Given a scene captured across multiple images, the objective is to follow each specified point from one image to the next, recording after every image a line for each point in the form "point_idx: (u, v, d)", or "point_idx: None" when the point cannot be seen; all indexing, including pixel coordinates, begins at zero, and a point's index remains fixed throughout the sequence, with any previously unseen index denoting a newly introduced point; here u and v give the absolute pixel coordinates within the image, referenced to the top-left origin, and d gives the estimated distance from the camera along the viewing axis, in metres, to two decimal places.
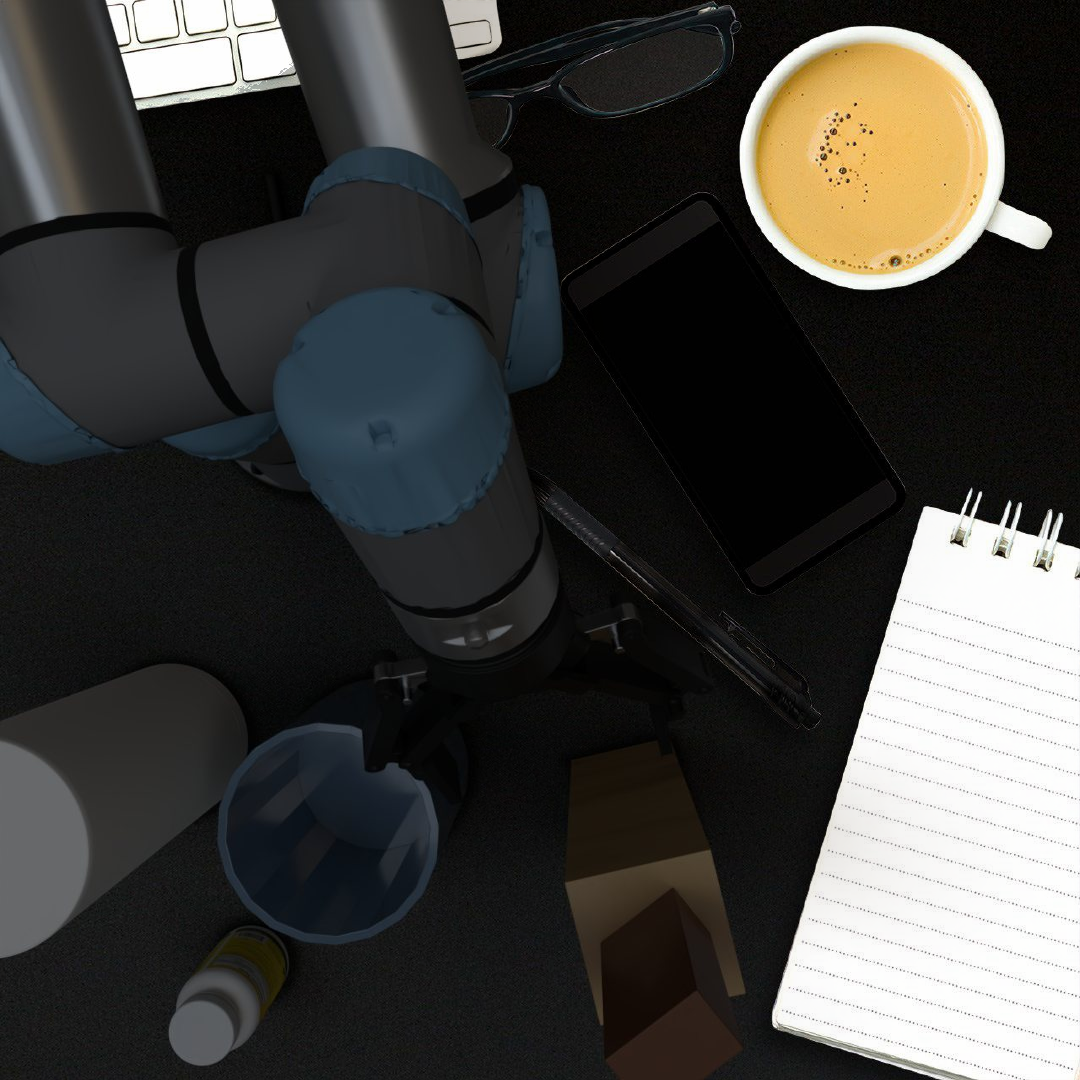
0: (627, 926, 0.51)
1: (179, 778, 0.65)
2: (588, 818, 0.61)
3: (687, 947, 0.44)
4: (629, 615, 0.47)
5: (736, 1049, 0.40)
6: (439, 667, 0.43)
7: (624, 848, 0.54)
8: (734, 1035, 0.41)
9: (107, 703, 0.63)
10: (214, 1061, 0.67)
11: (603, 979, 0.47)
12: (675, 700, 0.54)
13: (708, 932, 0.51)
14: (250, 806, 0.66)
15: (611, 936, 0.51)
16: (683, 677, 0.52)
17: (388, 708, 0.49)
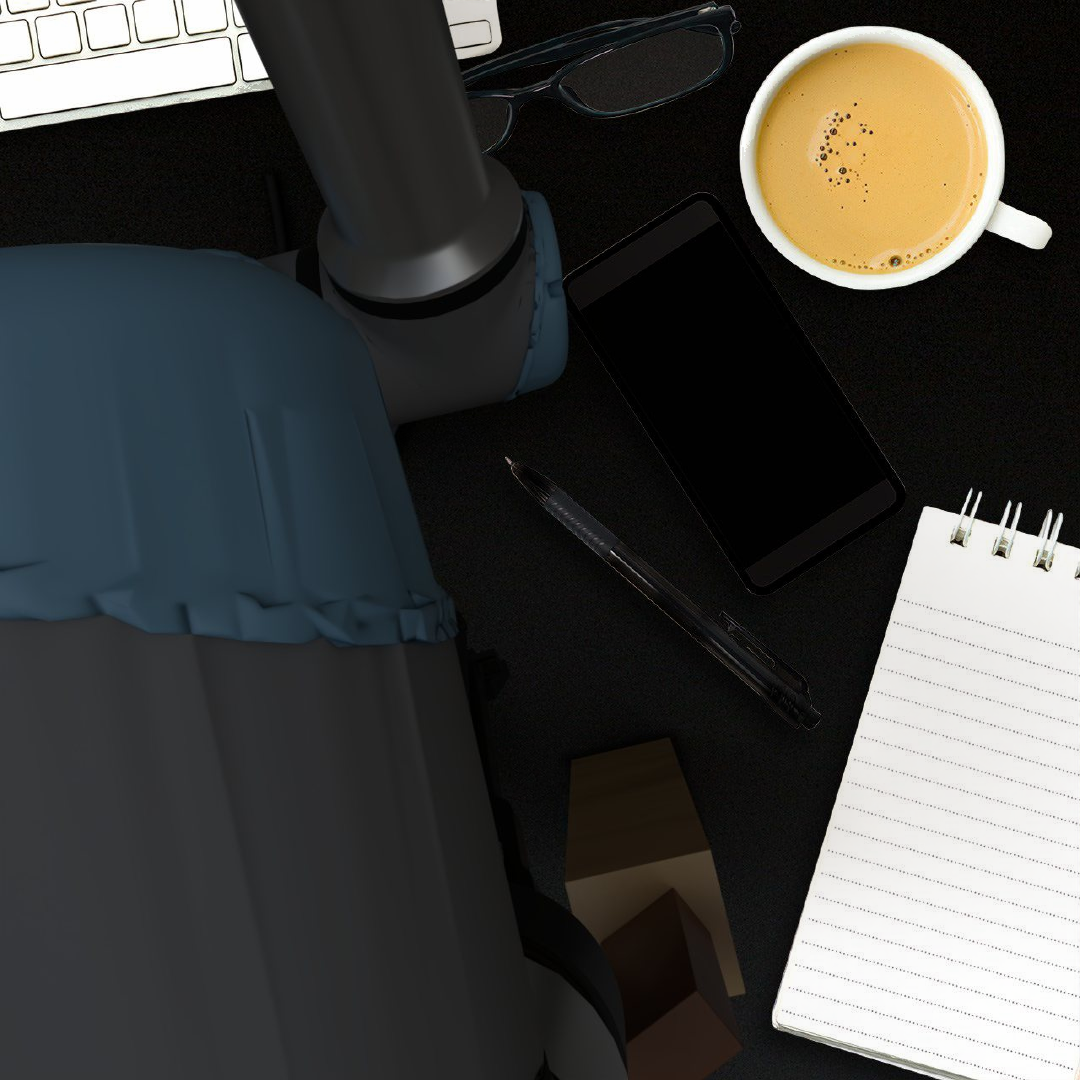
0: (627, 926, 0.51)
1: None
2: (588, 818, 0.61)
3: (687, 947, 0.44)
4: None
5: (736, 1049, 0.40)
6: None
7: (624, 848, 0.54)
8: (734, 1035, 0.41)
9: None
10: None
11: None
12: None
13: (708, 932, 0.51)
14: None
15: (611, 936, 0.51)
16: None
17: None
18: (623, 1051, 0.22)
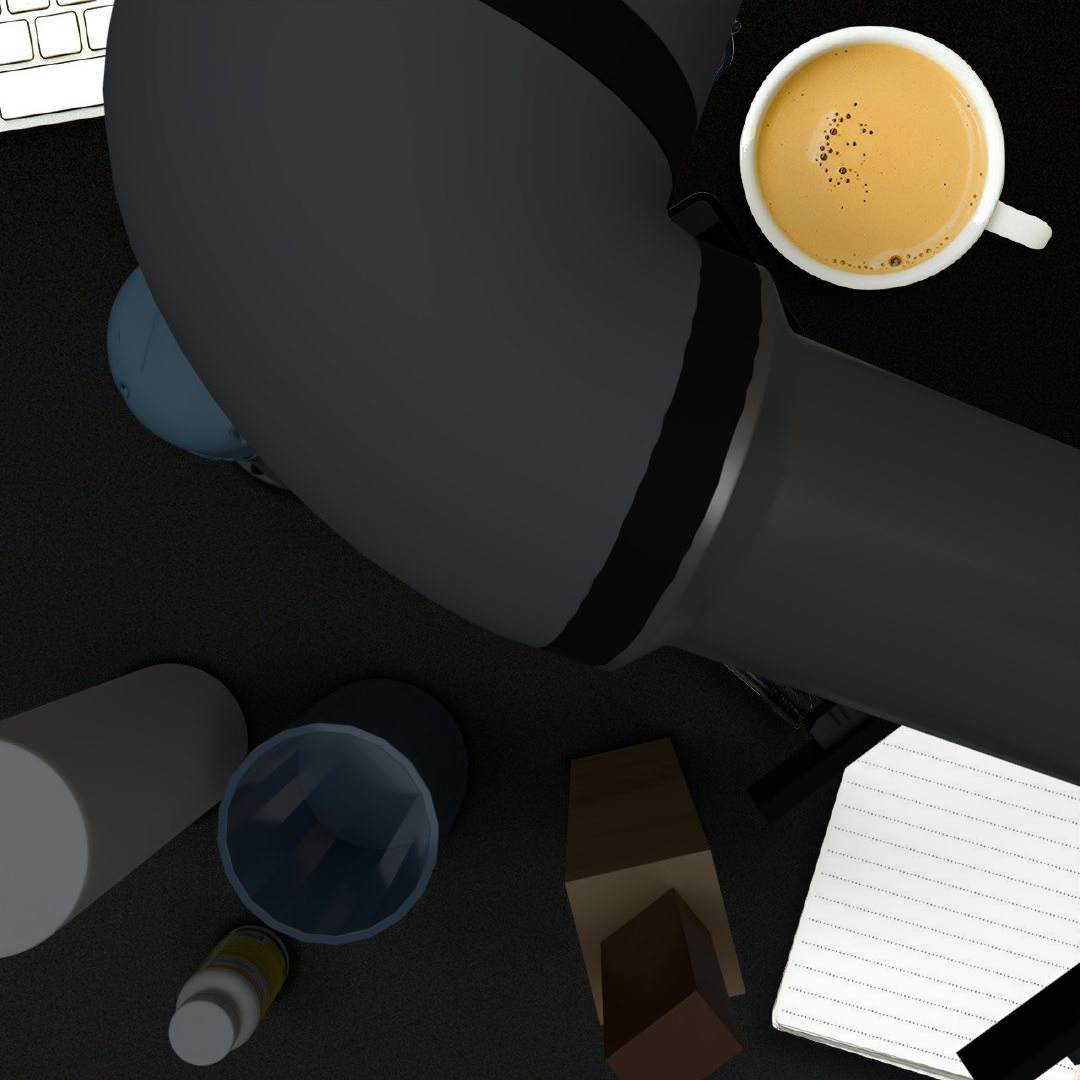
0: (627, 926, 0.51)
1: (178, 778, 0.65)
2: (588, 818, 0.61)
3: (687, 947, 0.44)
4: None
5: (736, 1049, 0.40)
6: None
7: (624, 848, 0.54)
8: (734, 1035, 0.41)
9: (107, 703, 0.63)
10: (214, 1061, 0.67)
11: (603, 979, 0.47)
12: None
13: (708, 932, 0.51)
14: (250, 806, 0.66)
15: (611, 936, 0.51)
16: None
17: None
18: None
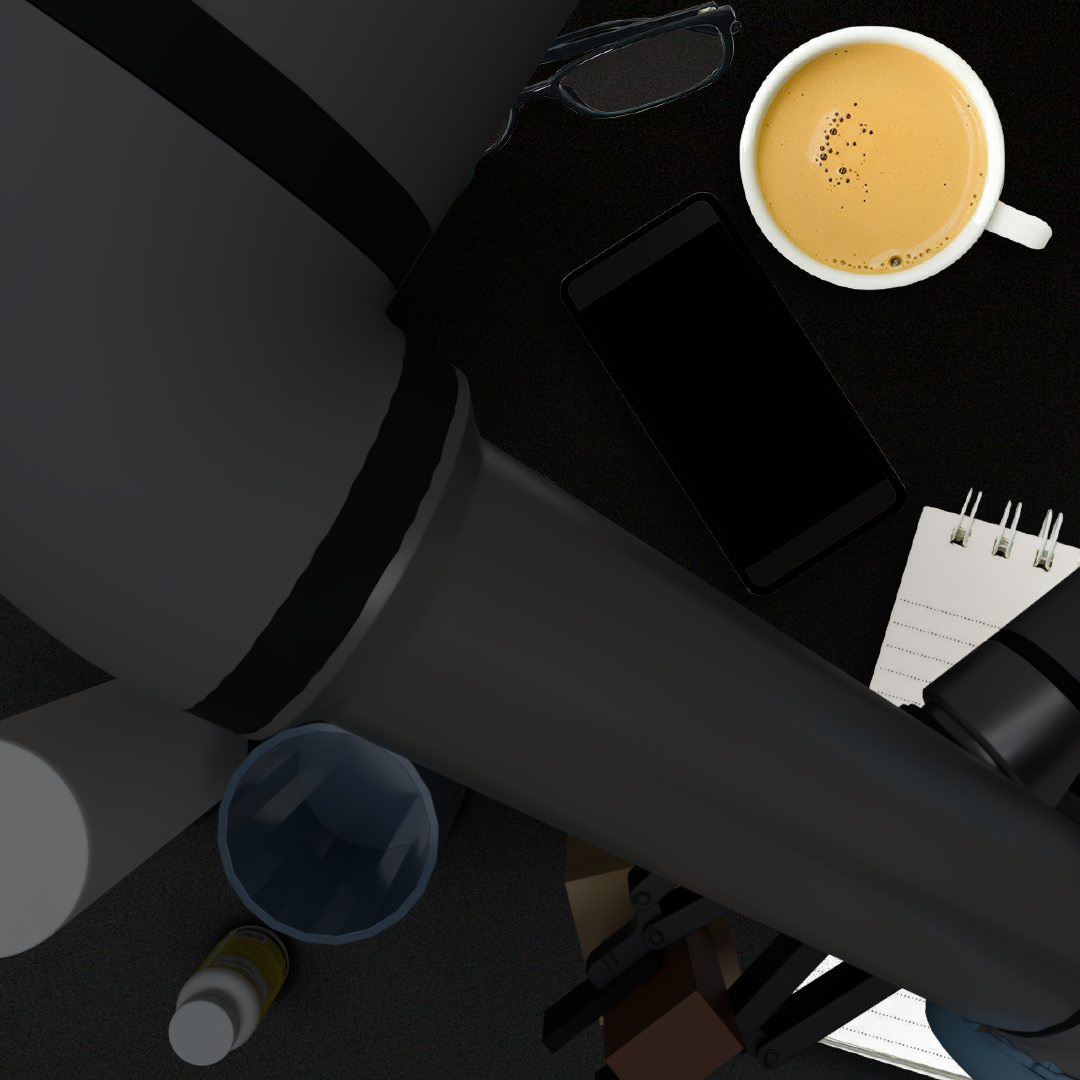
0: None
1: (178, 778, 0.65)
2: None
3: (687, 947, 0.44)
4: None
5: (736, 1049, 0.40)
6: None
7: None
8: (734, 1035, 0.41)
9: (107, 703, 0.63)
10: (214, 1061, 0.67)
11: None
12: None
13: (708, 932, 0.51)
14: (250, 806, 0.66)
15: None
16: None
17: None
18: None
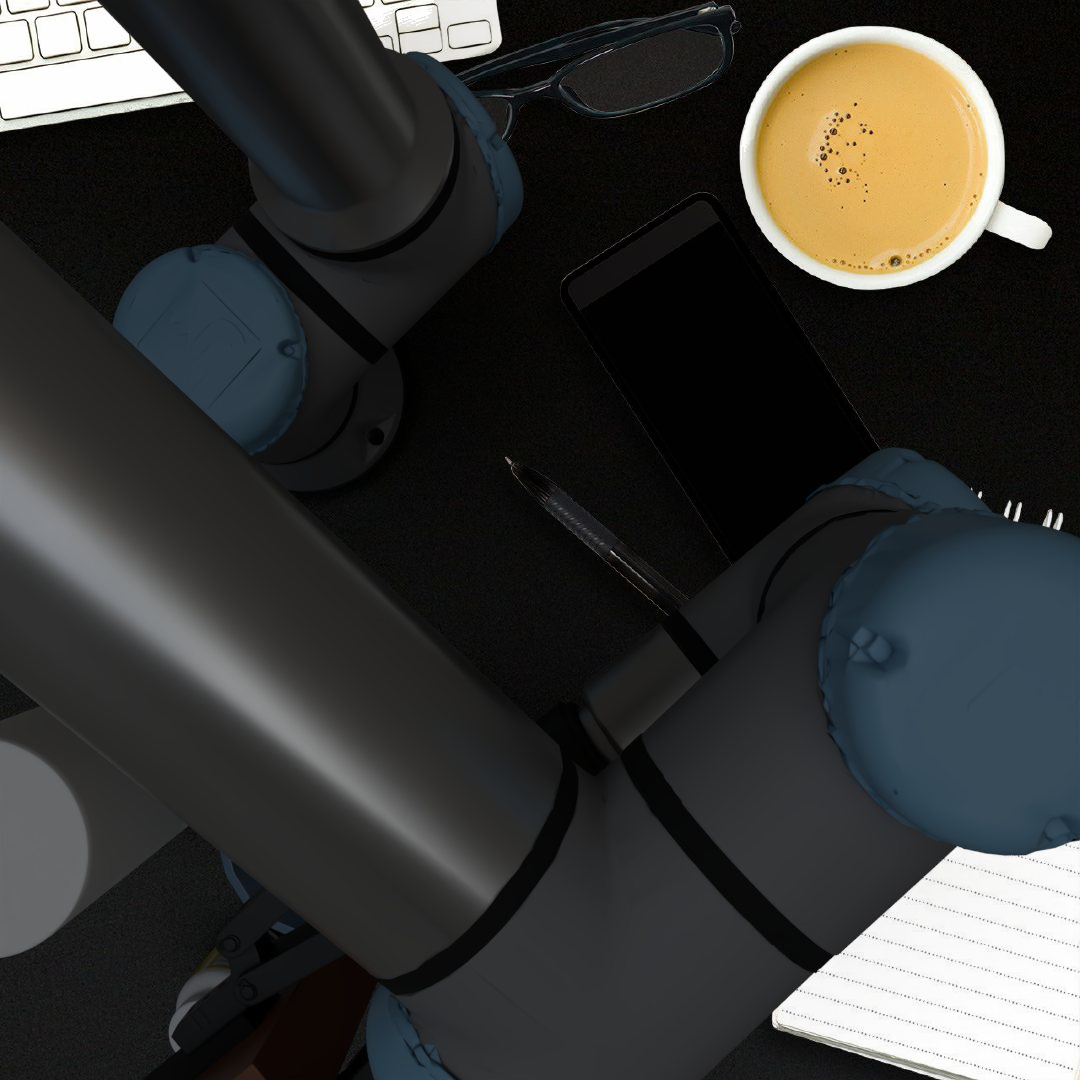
0: None
1: None
2: None
3: (288, 1003, 0.36)
4: None
5: None
6: None
7: None
8: None
9: None
10: None
11: None
12: None
13: None
14: None
15: None
16: None
17: None
18: None
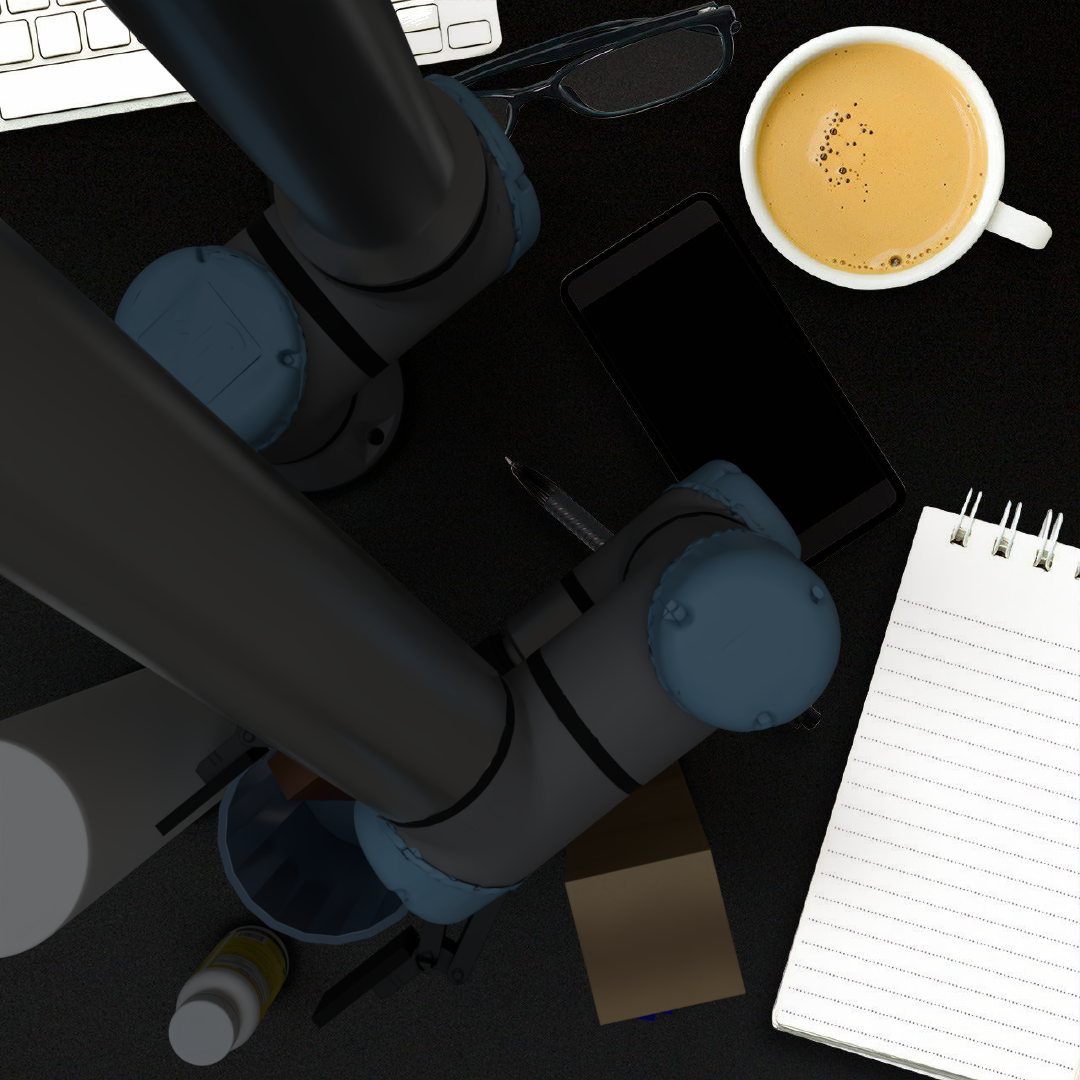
0: None
1: (178, 778, 0.65)
2: None
3: None
4: None
5: None
6: None
7: (624, 848, 0.54)
8: None
9: (107, 703, 0.63)
10: (214, 1061, 0.67)
11: None
12: None
13: None
14: (250, 806, 0.66)
15: None
16: None
17: None
18: None
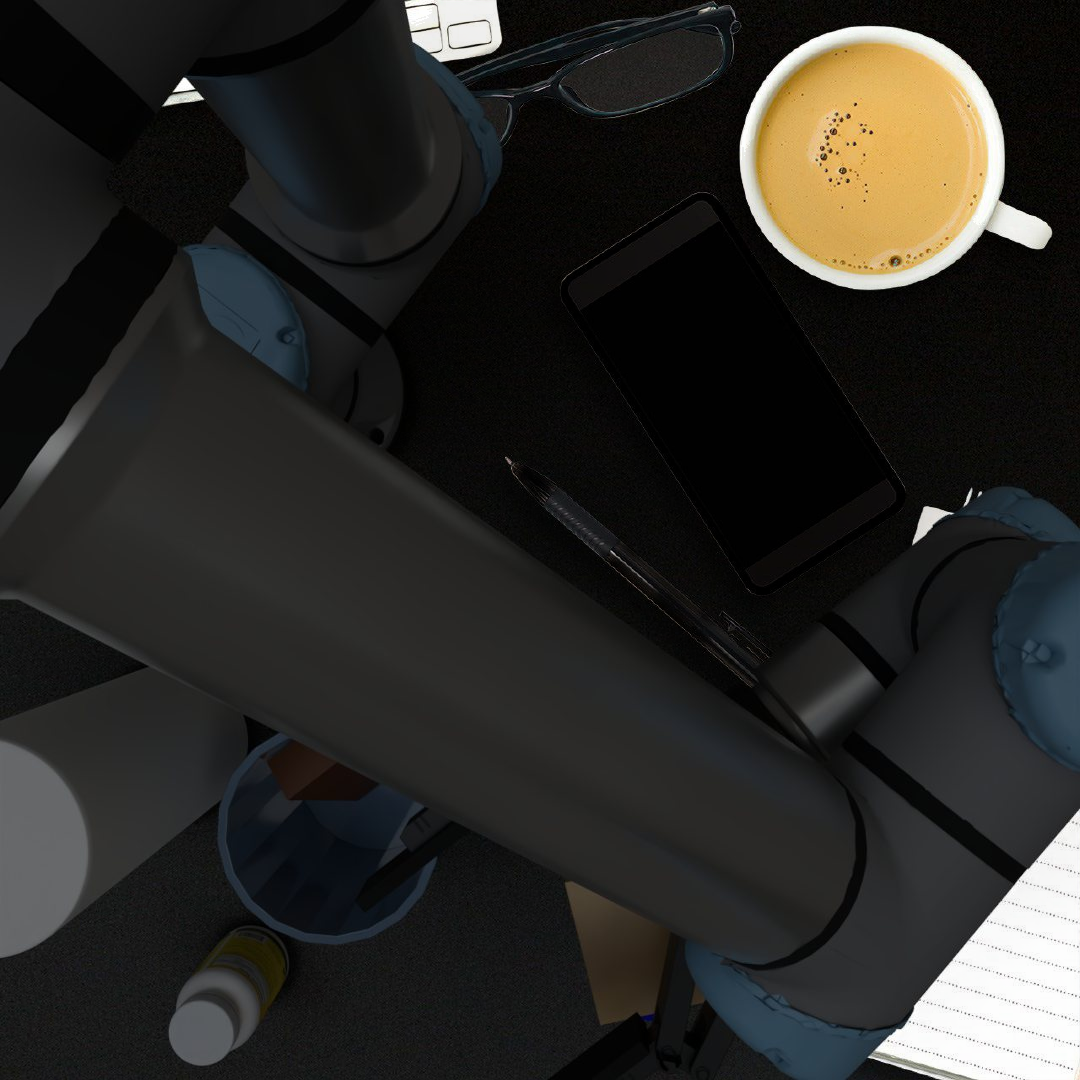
0: None
1: (178, 778, 0.65)
2: None
3: None
4: None
5: None
6: None
7: None
8: None
9: (107, 703, 0.63)
10: (214, 1061, 0.67)
11: None
12: None
13: None
14: (250, 806, 0.66)
15: None
16: None
17: None
18: None
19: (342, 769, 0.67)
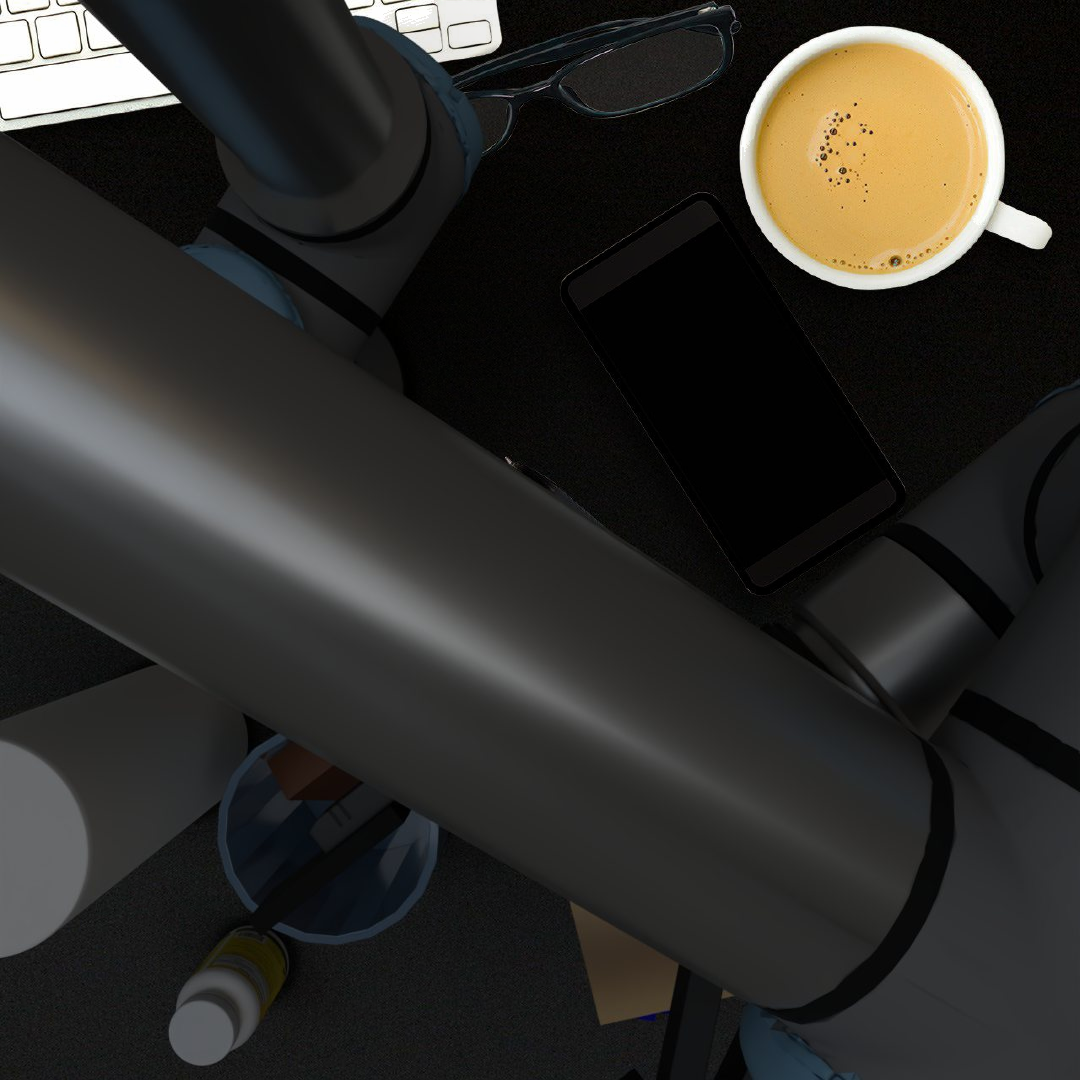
0: None
1: (178, 778, 0.65)
2: None
3: None
4: None
5: None
6: None
7: None
8: None
9: (107, 703, 0.63)
10: (214, 1061, 0.67)
11: None
12: None
13: None
14: (250, 806, 0.66)
15: None
16: None
17: None
18: None
19: None
